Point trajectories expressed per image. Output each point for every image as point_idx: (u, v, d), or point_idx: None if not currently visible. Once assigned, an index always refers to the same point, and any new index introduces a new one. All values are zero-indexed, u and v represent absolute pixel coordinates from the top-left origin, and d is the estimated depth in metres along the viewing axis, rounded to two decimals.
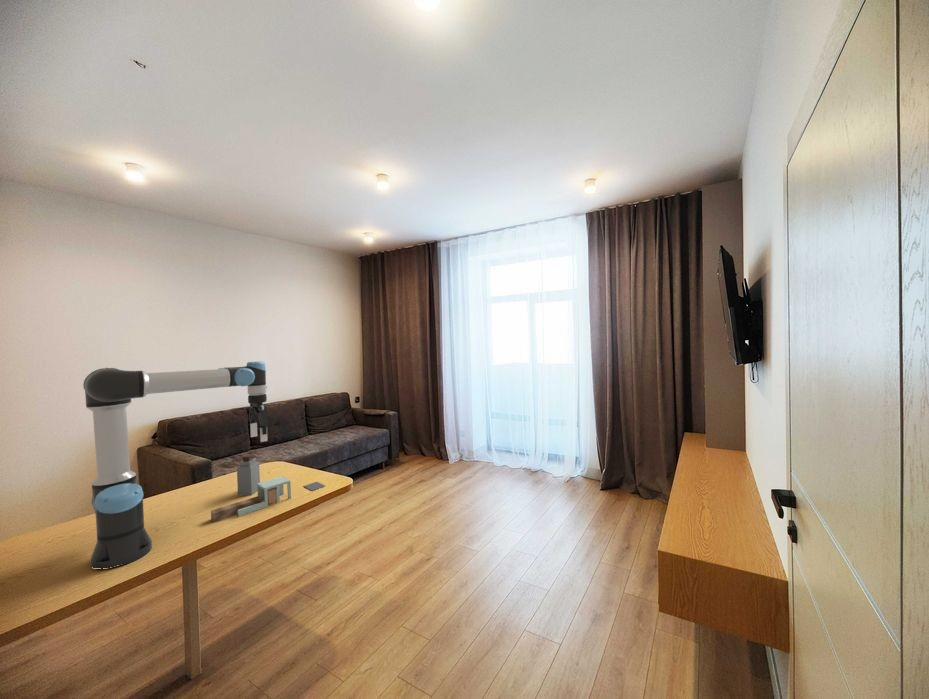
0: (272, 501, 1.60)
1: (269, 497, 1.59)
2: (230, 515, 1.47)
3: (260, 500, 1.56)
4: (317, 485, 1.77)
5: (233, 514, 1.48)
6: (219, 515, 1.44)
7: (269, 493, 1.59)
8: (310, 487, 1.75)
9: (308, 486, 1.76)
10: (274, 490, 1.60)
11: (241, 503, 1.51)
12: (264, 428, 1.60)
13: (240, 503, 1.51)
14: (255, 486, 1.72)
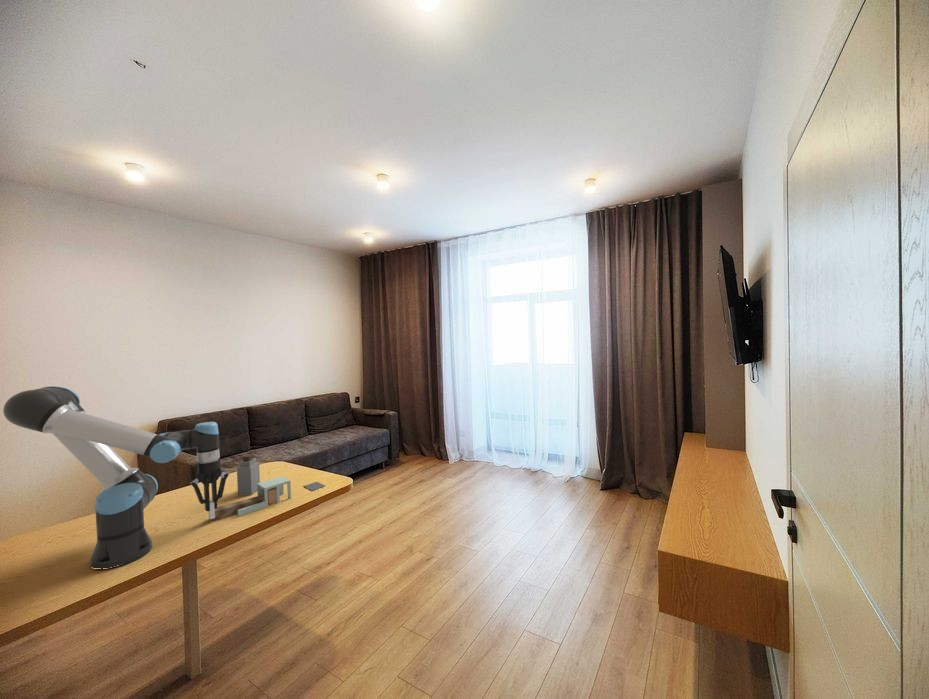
0: (272, 501, 1.60)
1: (269, 497, 1.59)
2: (231, 514, 1.48)
3: (261, 500, 1.56)
4: (317, 485, 1.77)
5: (234, 513, 1.49)
6: (219, 513, 1.45)
7: (269, 493, 1.59)
8: (310, 487, 1.75)
9: (308, 486, 1.76)
10: (274, 490, 1.60)
11: (242, 502, 1.52)
12: (205, 504, 1.42)
13: (241, 502, 1.52)
14: (255, 486, 1.72)
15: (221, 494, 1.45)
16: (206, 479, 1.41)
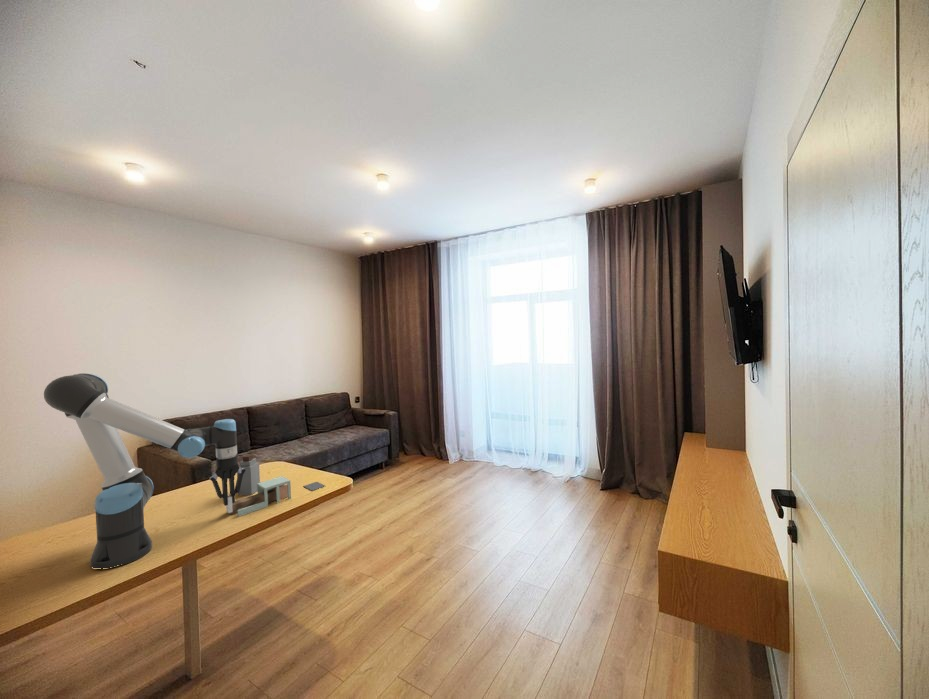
0: (281, 497, 1.63)
1: None
2: None
3: (275, 493, 1.62)
4: (317, 485, 1.77)
5: None
6: (236, 507, 1.50)
7: None
8: (310, 487, 1.75)
9: (308, 486, 1.76)
10: (283, 487, 1.64)
11: (257, 496, 1.58)
12: (223, 498, 1.47)
13: (256, 496, 1.58)
14: (255, 486, 1.72)
15: (238, 489, 1.50)
16: (224, 474, 1.46)
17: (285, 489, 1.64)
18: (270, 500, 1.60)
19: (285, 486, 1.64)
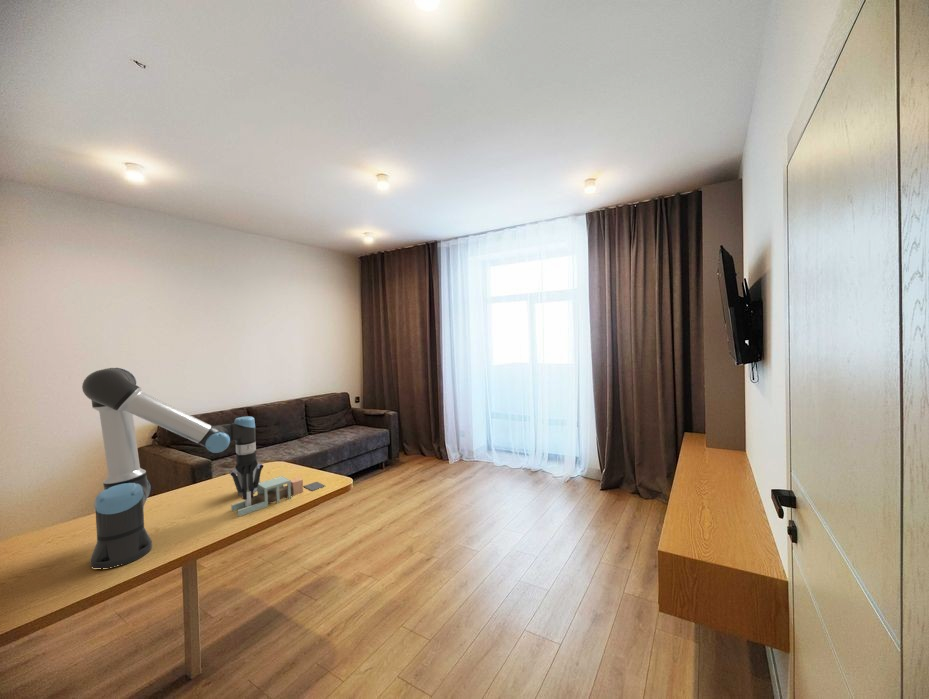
0: (296, 492, 1.68)
1: (294, 488, 1.67)
2: None
3: (291, 489, 1.67)
4: (317, 485, 1.77)
5: None
6: (255, 502, 1.56)
7: (294, 485, 1.67)
8: (310, 487, 1.75)
9: (308, 486, 1.76)
10: (298, 482, 1.69)
11: (274, 491, 1.63)
12: (242, 493, 1.53)
13: (273, 491, 1.63)
14: None
15: (257, 484, 1.56)
16: (244, 469, 1.51)
17: (300, 484, 1.70)
18: (286, 496, 1.66)
19: (300, 481, 1.70)
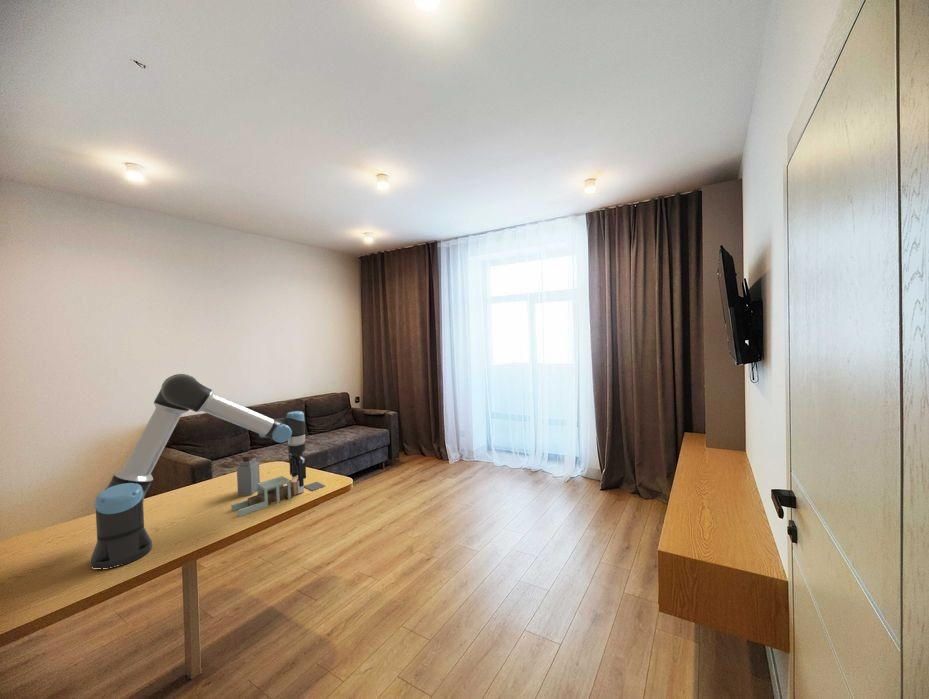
0: (297, 492, 1.68)
1: (294, 488, 1.67)
2: None
3: (291, 488, 1.68)
4: (317, 485, 1.77)
5: (268, 501, 1.60)
6: (255, 502, 1.56)
7: (294, 484, 1.67)
8: (310, 487, 1.75)
9: (308, 486, 1.76)
10: None
11: (274, 491, 1.63)
12: (301, 480, 1.68)
13: (273, 491, 1.63)
14: (255, 486, 1.72)
15: None
16: None
17: None
18: (287, 495, 1.66)
19: None
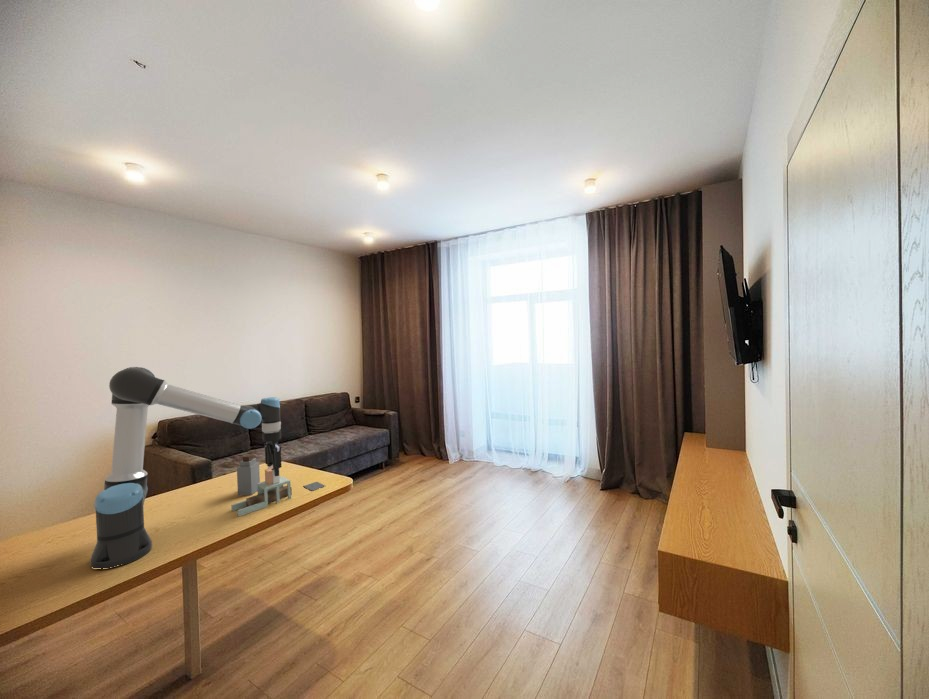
0: (272, 482, 1.60)
1: (269, 478, 1.59)
2: None
3: None
4: (317, 485, 1.77)
5: None
6: (254, 502, 1.55)
7: (269, 474, 1.59)
8: (310, 487, 1.75)
9: (308, 486, 1.76)
10: None
11: (273, 491, 1.63)
12: (276, 470, 1.59)
13: (272, 491, 1.63)
14: (255, 486, 1.72)
15: None
16: None
17: None
18: (285, 496, 1.66)
19: None
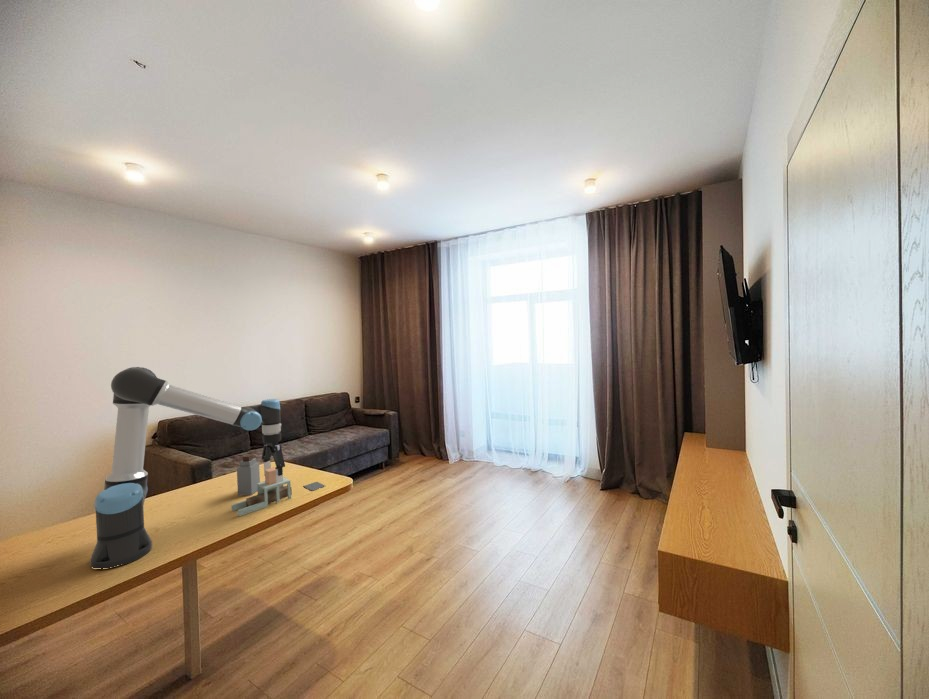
0: (272, 482, 1.60)
1: (269, 478, 1.59)
2: None
3: None
4: (317, 485, 1.77)
5: None
6: (254, 502, 1.55)
7: (269, 474, 1.59)
8: (310, 487, 1.75)
9: (308, 486, 1.76)
10: (274, 471, 1.60)
11: (273, 491, 1.63)
12: (280, 469, 1.56)
13: (272, 492, 1.63)
14: (255, 486, 1.72)
15: None
16: None
17: None
18: (285, 496, 1.66)
19: None
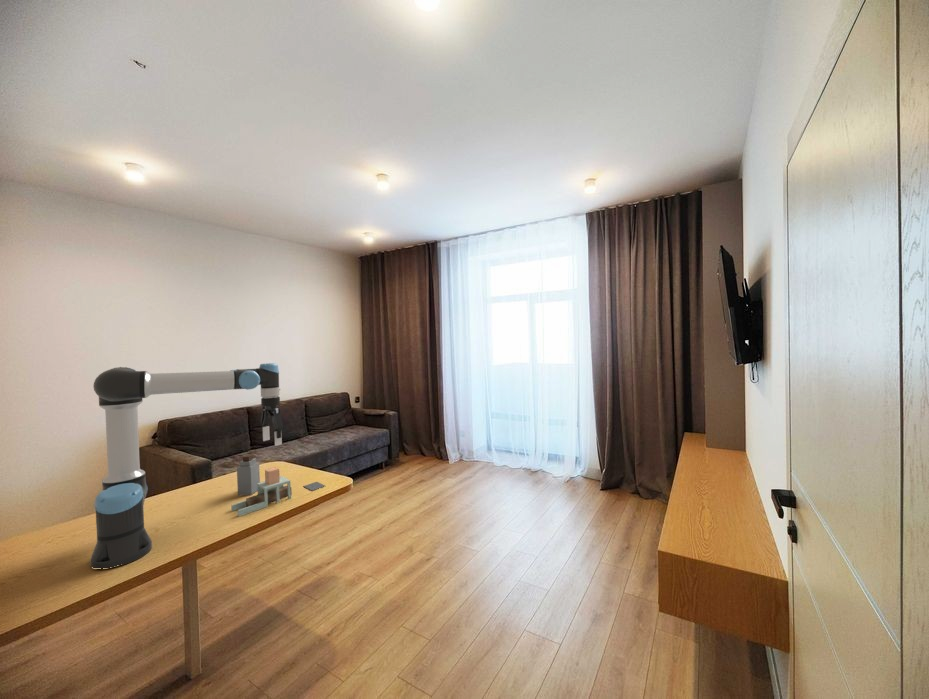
0: (272, 482, 1.60)
1: (269, 478, 1.59)
2: None
3: None
4: (317, 485, 1.77)
5: None
6: (254, 502, 1.55)
7: (269, 474, 1.59)
8: (310, 487, 1.75)
9: (308, 486, 1.76)
10: (274, 471, 1.60)
11: (273, 492, 1.63)
12: (279, 431, 1.56)
13: (272, 492, 1.63)
14: (255, 486, 1.72)
15: None
16: None
17: (277, 474, 1.61)
18: (285, 496, 1.66)
19: (277, 470, 1.61)
